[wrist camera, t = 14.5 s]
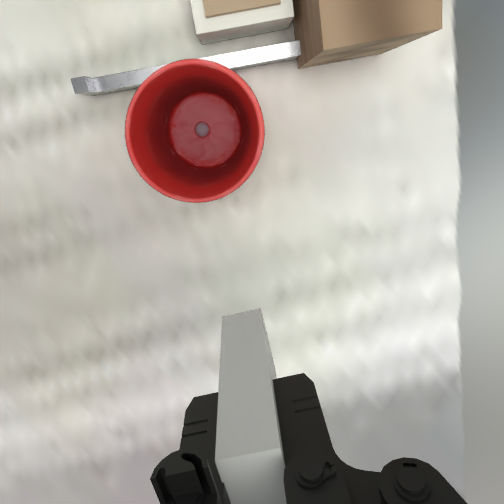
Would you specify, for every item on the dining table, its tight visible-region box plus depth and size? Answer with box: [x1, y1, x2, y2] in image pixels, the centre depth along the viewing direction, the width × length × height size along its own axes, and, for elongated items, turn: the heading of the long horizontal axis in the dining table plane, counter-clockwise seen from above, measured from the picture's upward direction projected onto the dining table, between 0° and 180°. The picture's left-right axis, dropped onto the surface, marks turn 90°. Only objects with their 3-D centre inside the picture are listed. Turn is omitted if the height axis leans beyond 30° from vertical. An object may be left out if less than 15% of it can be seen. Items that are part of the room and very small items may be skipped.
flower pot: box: [125, 59, 265, 203], centre depth 35 cm, size 11×11×10 cm
